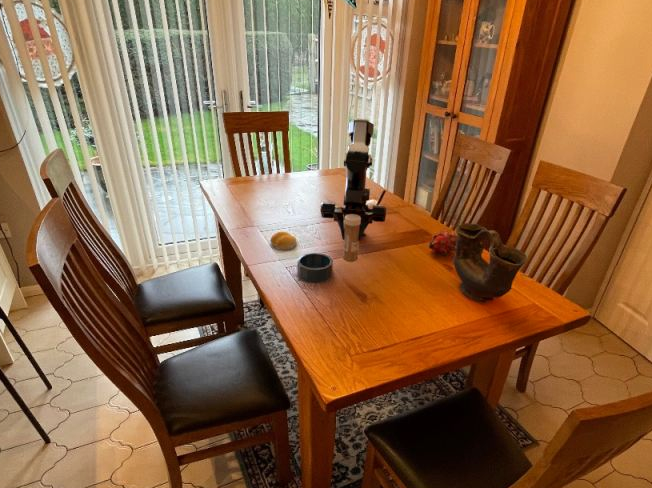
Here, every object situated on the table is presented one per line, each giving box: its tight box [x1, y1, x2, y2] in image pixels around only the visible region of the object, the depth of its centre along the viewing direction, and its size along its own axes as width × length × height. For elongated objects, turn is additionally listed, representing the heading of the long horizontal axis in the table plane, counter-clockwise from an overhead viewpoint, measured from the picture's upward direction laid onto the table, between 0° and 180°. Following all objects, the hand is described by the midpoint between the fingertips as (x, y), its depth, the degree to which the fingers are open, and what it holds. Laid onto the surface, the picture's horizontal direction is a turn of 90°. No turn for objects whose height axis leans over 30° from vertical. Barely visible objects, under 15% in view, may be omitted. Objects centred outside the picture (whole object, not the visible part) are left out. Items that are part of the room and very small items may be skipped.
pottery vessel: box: [452, 222, 528, 304], centre depth 120 cm, size 25×11×20 cm, turn 23°
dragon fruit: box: [428, 230, 457, 256], centre depth 145 cm, size 8×8×12 cm
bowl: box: [296, 252, 334, 284], centre depth 129 cm, size 10×10×4 cm
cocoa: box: [366, 189, 387, 210], centre depth 170 cm, size 10×6×12 cm, turn 19°
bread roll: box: [270, 230, 298, 250], centre depth 145 cm, size 8×9×4 cm
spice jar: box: [342, 214, 361, 263], centre depth 122 cm, size 5×5×13 cm
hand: (351, 239), depth 121 cm, fingers closed on spice jar, 4 cm apart
